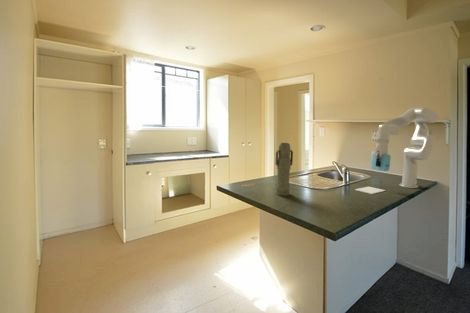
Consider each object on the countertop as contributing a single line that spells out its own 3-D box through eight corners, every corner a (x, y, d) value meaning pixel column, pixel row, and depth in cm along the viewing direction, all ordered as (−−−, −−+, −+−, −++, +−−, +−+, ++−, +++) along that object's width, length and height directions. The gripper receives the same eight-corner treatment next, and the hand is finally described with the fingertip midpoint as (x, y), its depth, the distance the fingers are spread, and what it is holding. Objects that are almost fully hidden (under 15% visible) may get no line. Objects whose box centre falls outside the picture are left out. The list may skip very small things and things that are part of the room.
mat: (368, 187, 209) (368, 186, 209) (385, 191, 198) (385, 190, 198) (354, 190, 199) (354, 189, 199) (371, 194, 188) (371, 193, 188)
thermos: (271, 193, 186) (273, 142, 182) (286, 191, 190) (288, 142, 186) (278, 196, 178) (280, 143, 173) (293, 195, 182) (296, 143, 178)
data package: (389, 171, 194) (391, 154, 193) (384, 171, 193) (386, 154, 191) (375, 168, 205) (377, 152, 204) (371, 168, 204) (372, 152, 202)
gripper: (383, 141, 204) (381, 164, 207) (371, 141, 195) (368, 166, 197) (393, 142, 198) (391, 166, 200) (381, 142, 189) (379, 167, 191)
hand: (380, 165), depth 199 cm, fingers closed on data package, 5 cm apart
